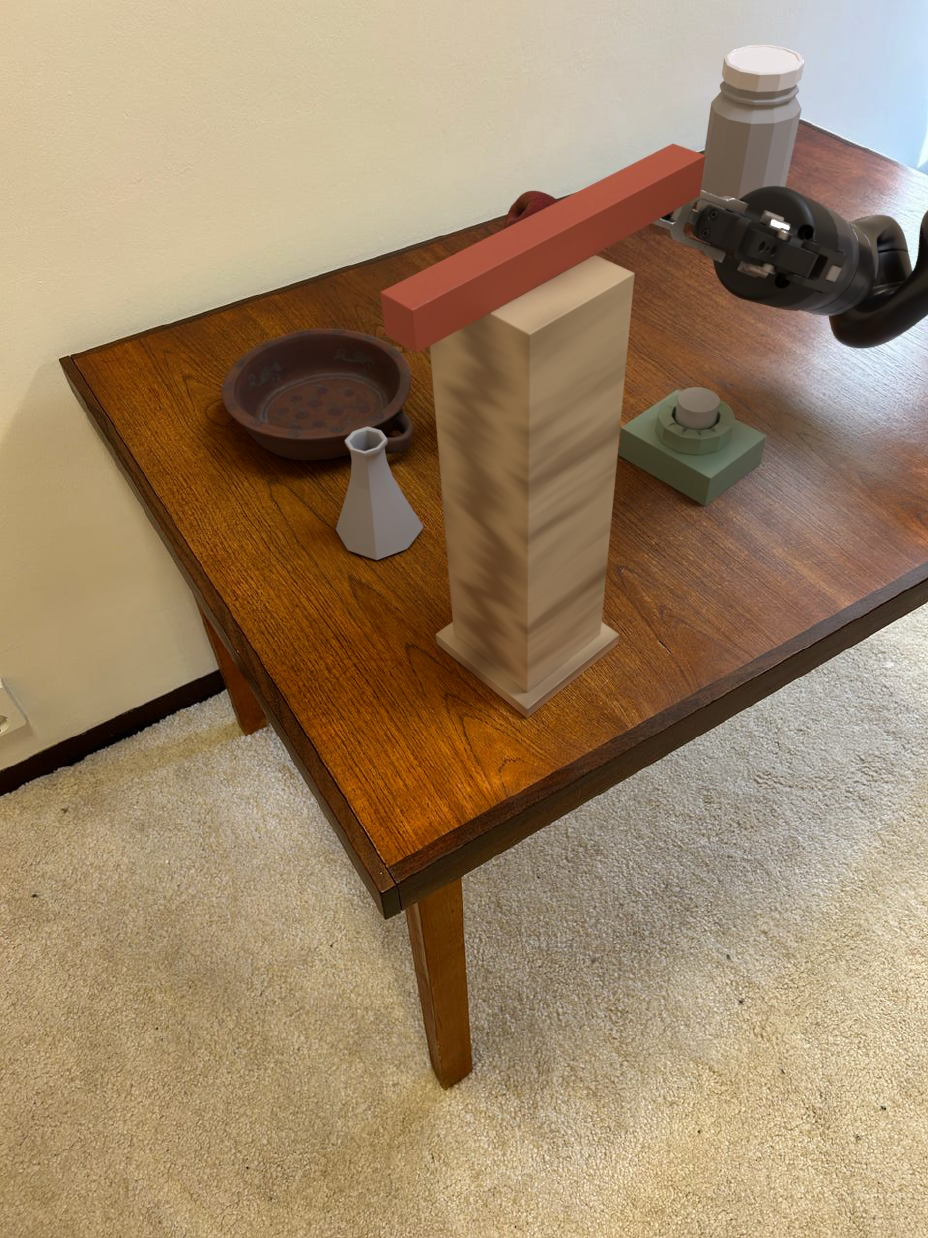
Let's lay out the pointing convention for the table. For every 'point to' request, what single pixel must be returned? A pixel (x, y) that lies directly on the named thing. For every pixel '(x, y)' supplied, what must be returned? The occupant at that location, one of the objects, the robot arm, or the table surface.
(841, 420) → the table surface
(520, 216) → the apple
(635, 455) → the green button base
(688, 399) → the grey push button
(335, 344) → the dish
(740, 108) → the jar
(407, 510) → the flask
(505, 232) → the rod
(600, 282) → the stand
